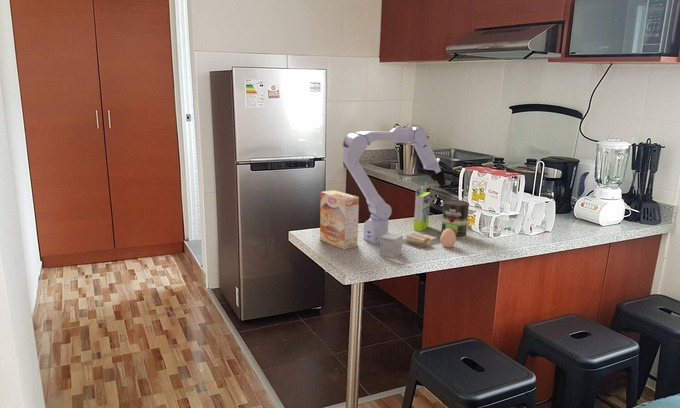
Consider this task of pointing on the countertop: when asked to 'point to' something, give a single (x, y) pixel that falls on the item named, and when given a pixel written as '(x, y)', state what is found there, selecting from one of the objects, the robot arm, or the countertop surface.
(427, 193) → the box
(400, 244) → the product box
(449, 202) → the coffee can
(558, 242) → the countertop surface
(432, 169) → the robot arm
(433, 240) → the mat
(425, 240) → the card box
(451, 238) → the egg
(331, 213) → the coffeecake box
